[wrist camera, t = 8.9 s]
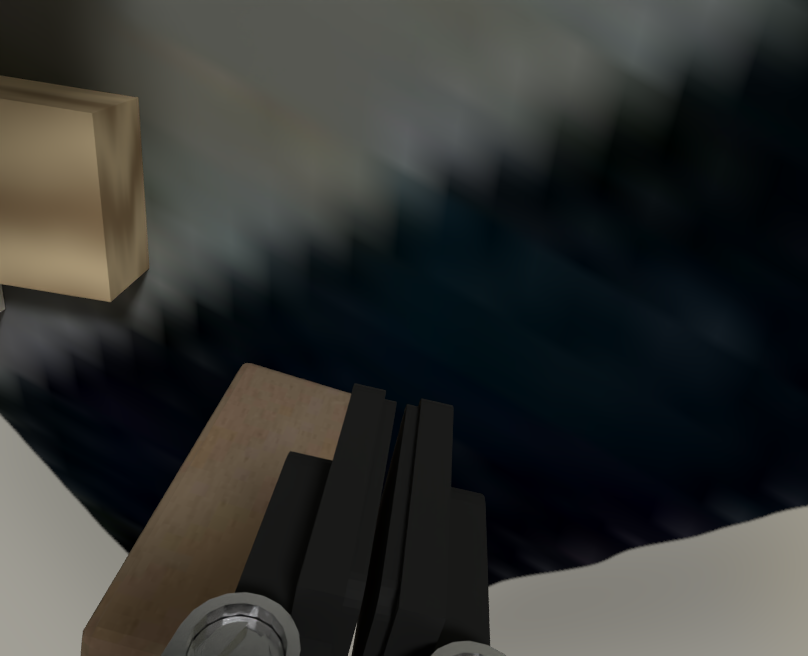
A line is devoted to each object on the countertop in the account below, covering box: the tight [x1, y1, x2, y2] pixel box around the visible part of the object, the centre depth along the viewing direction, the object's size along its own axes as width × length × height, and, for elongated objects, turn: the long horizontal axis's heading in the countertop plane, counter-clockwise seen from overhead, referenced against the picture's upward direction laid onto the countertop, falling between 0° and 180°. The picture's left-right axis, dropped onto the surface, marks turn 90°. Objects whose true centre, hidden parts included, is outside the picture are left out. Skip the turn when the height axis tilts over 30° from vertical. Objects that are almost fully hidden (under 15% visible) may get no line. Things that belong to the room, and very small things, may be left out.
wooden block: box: [81, 363, 351, 656], centre depth 35 cm, size 10×10×20 cm
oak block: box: [0, 75, 149, 302], centre depth 34 cm, size 10×9×5 cm
